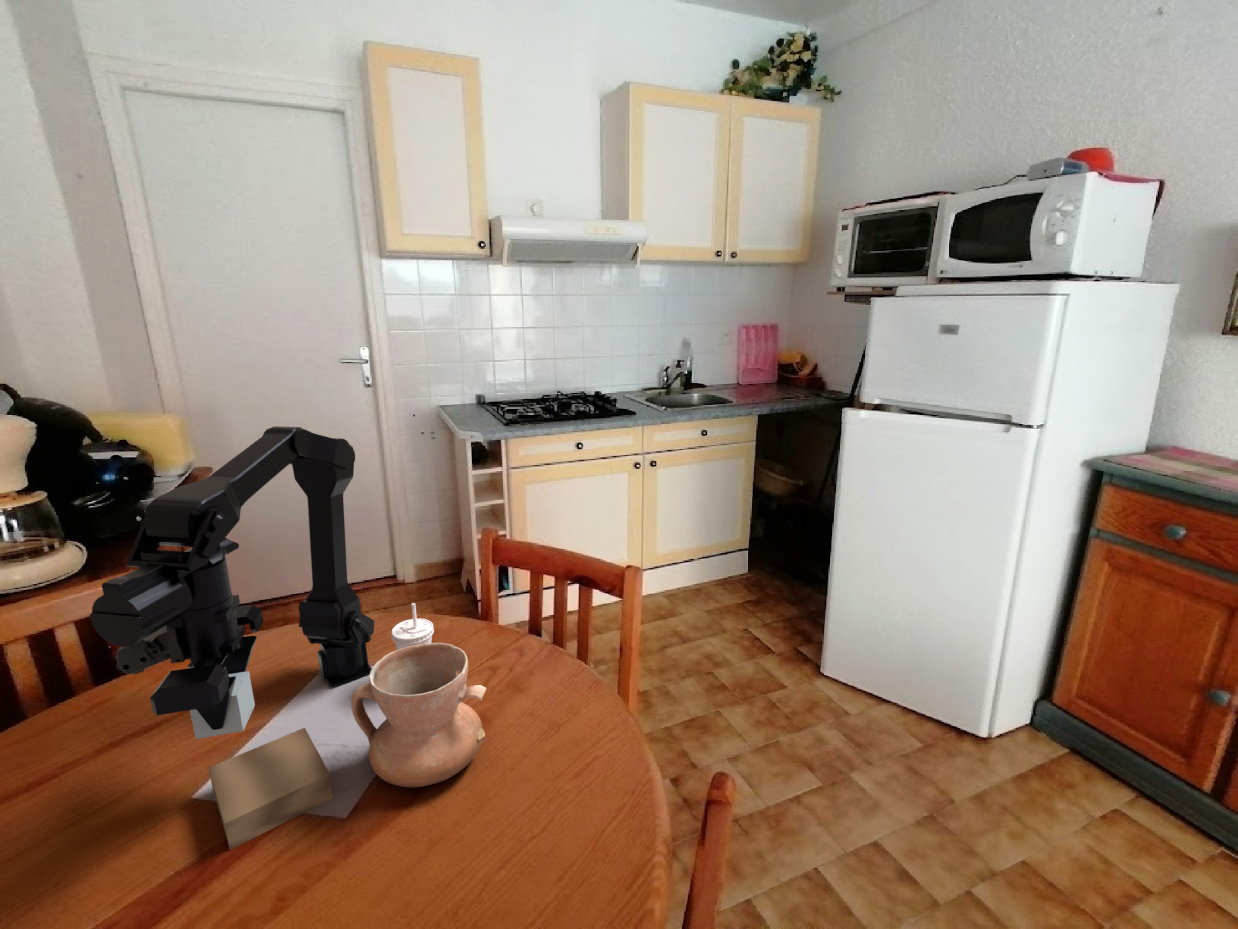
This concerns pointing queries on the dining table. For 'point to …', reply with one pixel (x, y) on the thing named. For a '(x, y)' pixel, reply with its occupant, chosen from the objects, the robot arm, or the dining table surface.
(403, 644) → the smoothie
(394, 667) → the ceramic jug
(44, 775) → the dining table surface
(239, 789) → the brown boxy piece
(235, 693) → the grey cube
